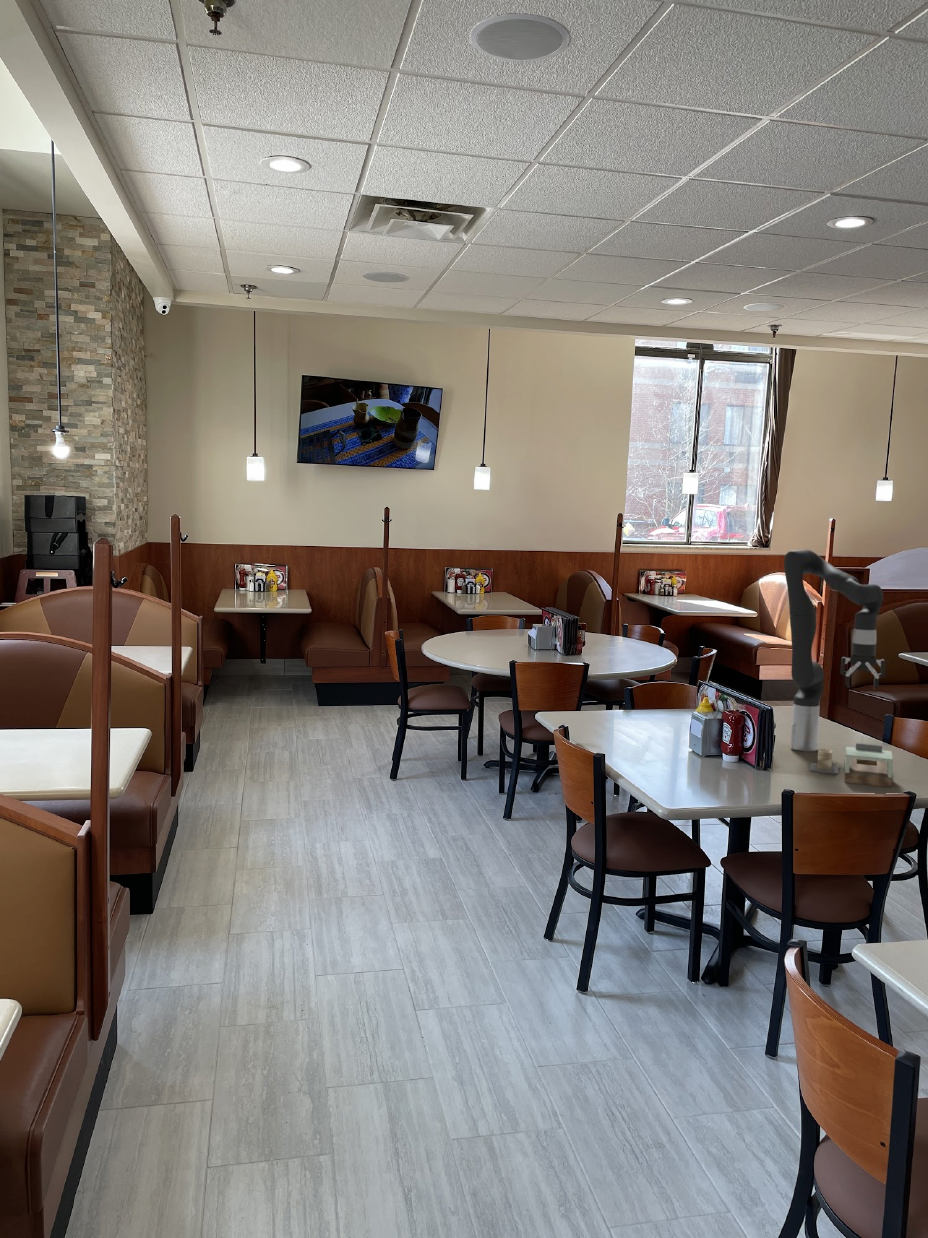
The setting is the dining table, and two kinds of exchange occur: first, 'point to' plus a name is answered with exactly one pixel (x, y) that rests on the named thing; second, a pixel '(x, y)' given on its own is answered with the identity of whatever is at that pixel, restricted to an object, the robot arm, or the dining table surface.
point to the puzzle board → (867, 772)
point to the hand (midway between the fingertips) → (861, 687)
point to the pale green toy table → (869, 755)
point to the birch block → (824, 759)
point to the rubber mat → (833, 769)
